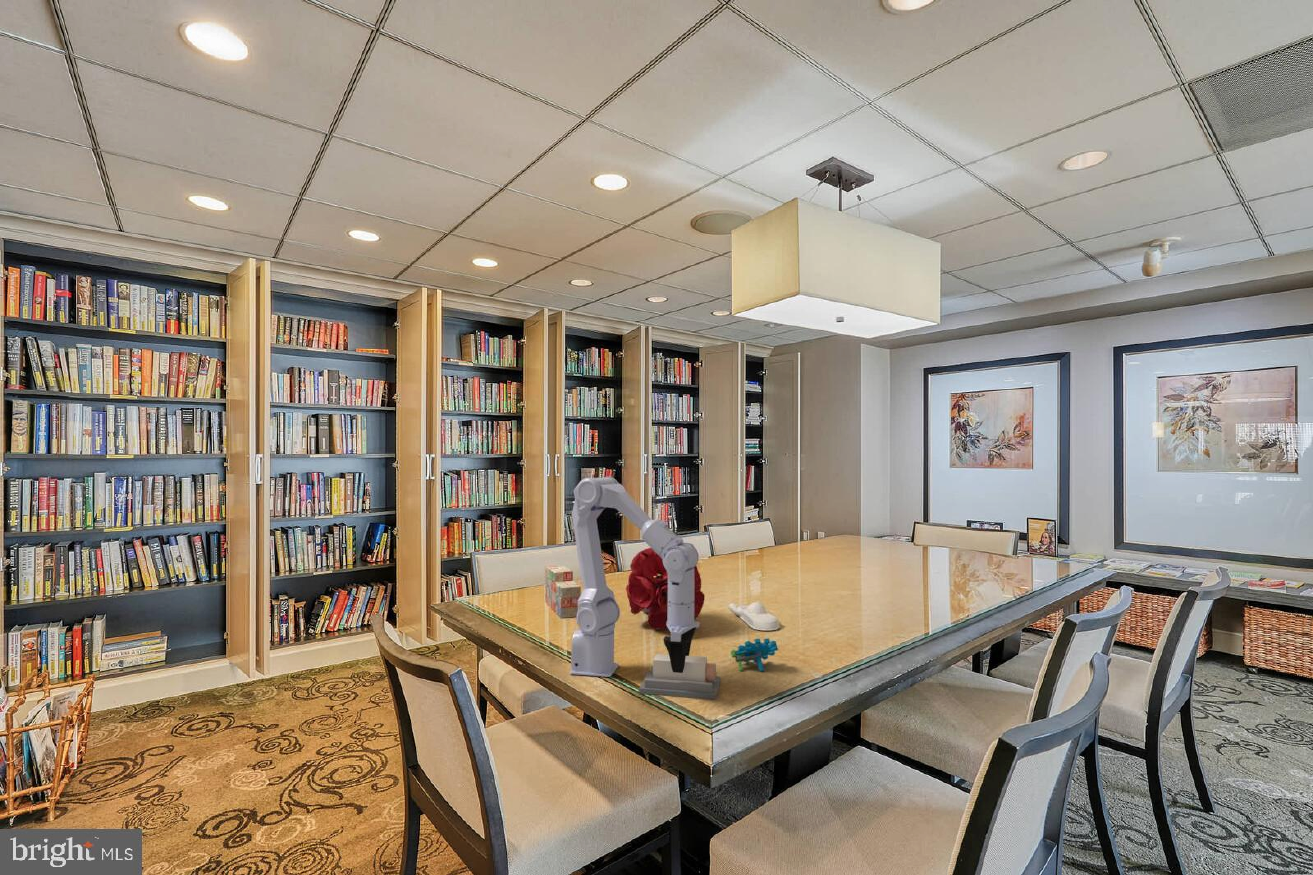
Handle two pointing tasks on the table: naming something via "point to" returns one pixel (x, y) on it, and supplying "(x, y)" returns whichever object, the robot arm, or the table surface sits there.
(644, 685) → the cradle
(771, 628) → the white domed paddle shape
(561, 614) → the stack of blocks
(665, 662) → the cream rectangular bar
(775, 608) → the table surface
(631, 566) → the bouquet
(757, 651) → the blue brick toy animal
